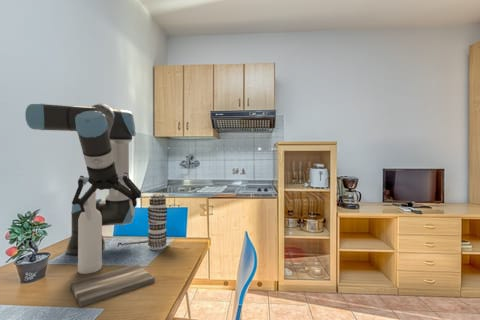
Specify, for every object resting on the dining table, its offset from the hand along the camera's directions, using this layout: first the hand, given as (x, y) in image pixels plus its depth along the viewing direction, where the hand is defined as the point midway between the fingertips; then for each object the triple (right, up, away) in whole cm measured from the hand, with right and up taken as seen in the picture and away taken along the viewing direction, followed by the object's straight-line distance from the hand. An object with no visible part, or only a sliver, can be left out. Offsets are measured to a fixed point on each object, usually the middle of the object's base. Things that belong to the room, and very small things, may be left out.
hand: (112, 215), depth 88 cm
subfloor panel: (+1, -23, -2) cm, 23 cm away
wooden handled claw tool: (-5, -23, +39) cm, 46 cm away
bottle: (-13, -23, +9) cm, 28 cm away
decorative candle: (+4, -23, +35) cm, 42 cm away
